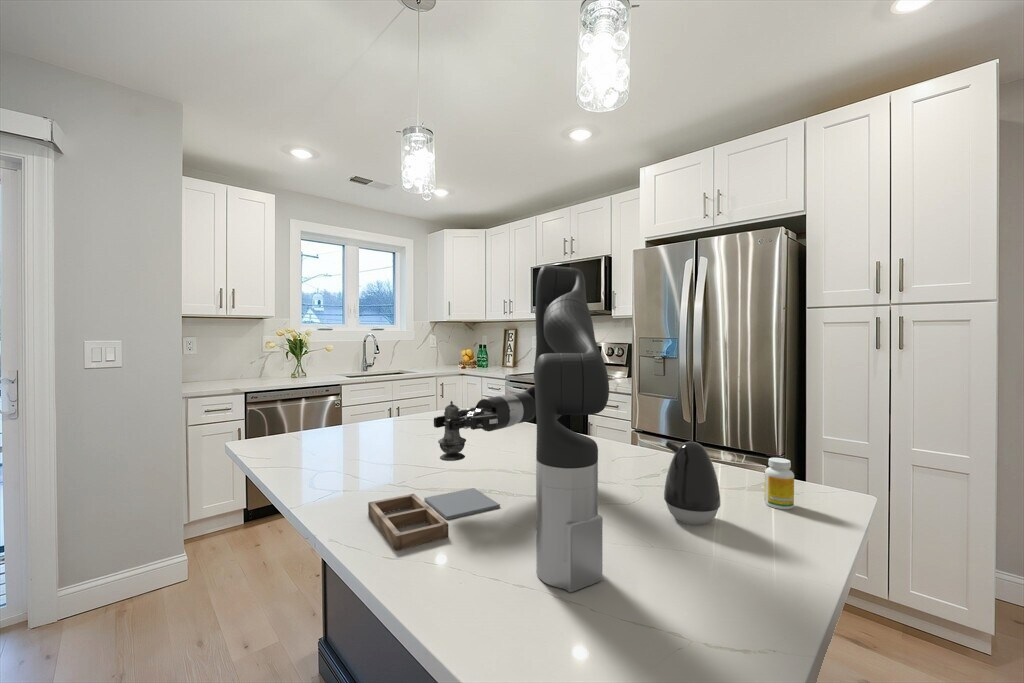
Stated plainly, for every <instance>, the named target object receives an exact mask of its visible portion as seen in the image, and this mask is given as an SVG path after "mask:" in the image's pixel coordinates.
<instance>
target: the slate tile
mask: <svg viewBox="0 0 1024 683" xmlns="http://www.w3.org/2000/svg"><path fill="white" fill-rule="evenodd" d="M424 500H425V501H426V502H425V501H424ZM423 501H424V502H425V503H426V504H427V505H428V506H429V507H430V508H432V507H433V508H432V509H433V510H434V511H435V512H436V513H437V514H438V515H439V516H440V515H441V516H442V518H443V519H444V520H445V521H446V520H450V519H451V518H452V519H456V518H460V517H464V516H469V515H473V514H477V513H480V512H486V511H490V510H494V509H498V508H501V504H500V503H498V502H497V501H495V500H494V499H492V498H490V497H489V496H487V495H486V494H484V493H482V492H481V491H480V490H477V489H476V488H475V487H472V488H467V489H462V490H456V491H452V492H447V493H442V494H435V495H432V496H427V497H424V498H423ZM452 519H451V520H452Z"/></svg>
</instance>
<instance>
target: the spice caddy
mask: <svg viewBox="0 0 1024 683" xmlns="http://www.w3.org/2000/svg"><path fill="white" fill-rule="evenodd" d="M367 503H368V504H367V506H368V508H367V510H368V514H367V515H368V516H369V515H370V516H369V517H370V518H371V520H372V519H373V520H372V521H373V523H374V524H375V523H376V524H375V525H376V526H377V528H378V527H379V528H378V529H379V530H380V531H381V533H382V534H383V536H384V537H385V538H386V540H387V541H388V542H389V544H390V545H391V546H392V548H393V549H394V550H395V551H399V550H404V549H407V548H411V547H415V546H420V545H423V544H427V543H431V542H435V541H439V540H443V539H446V538H449V523H448V522H447V521H446V519H445V518H443V517H441V516H440V514H439V513H438V512H437V511H435V510H434V509H433V508H432V507H431V506H430V505H429V504H427V503H426V502H425V501H424V500H422V499H421V498H420V497H419V496H418V495H416V494H415V493H411V494H405V495H400V496H395V497H389V498H385V499H379V500H378V499H377V500H375V501H369V502H367ZM405 508H406V509H410V508H411V509H410V510H405ZM398 509H401V510H405V511H402V512H401V511H400V512H397V513H392V514H387V515H385V513H384V512H386V513H390V512H389V511H391V512H394V511H393V510H396V511H399V510H398ZM425 522H426V523H427V526H423V527H419V528H414V529H409V530H406V531H405V530H404V531H401V532H400V531H399V530H398V529H399V528H403V527H408V526H413V525H416V524H422V523H425Z"/></svg>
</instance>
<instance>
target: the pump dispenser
mask: <svg viewBox="0 0 1024 683" xmlns="http://www.w3.org/2000/svg"><path fill="white" fill-rule="evenodd" d="M665 447H667V448H668V449H670V450H671V451H672V452H674V454H673V457H672V458H671V461H670V464H669V466H668V469H667V473H666V479H665V483H664V491H663V498H664V501H665V503H666V507H667V509H668V511H669V513H670V514H671V516H673V518H675V519H676V520H677V521H679V522H681V523H683V524H687V525H692V526H701V525H706V524H708V523H710V522H711V521H713V520H714V519H715V517H716V516H717V514H718V511H719V509H720V508H721V492H720V486H719V481H718V477H717V474H716V470H715V466H714V464H713V461H712V459H711V457H710V455H709V453H708V452H707V450H706V448H705V447H704V446H703V445H702V444H700V443H698V442H695V441H685V442H684V443H682V444H680V445H679V446H678V445H677V444H674V443H673V442H670V441H667V442H666V443H665Z"/></svg>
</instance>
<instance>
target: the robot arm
mask: <svg viewBox="0 0 1024 683" xmlns="http://www.w3.org/2000/svg"><path fill="white" fill-rule="evenodd" d="M536 280H537V281H536V288H535V343H536V345H535V356H534V357H535V358H534V366H533V379H534V380H533V381H534V385H532V386H529V387H528V388H527V389H525V390H523V391H522V392H520V393H516V394H510V395H509V394H501V395H497V396H490V397H485V398H481V399H480V400H479V401H478V402H477V404H476V405H475V406H469V407H467V408H462V409H461V408H459V407H458V409H459V417H458V418H453V419H448V420H447V430H449V431H451V430H456V429H459V430H461V429H464V430H467V429H470V430H473V431H474V430H480V429H481V430H482V431H483V432H484V431H485V432H493V431H497V430H501V429H505V428H509V427H510V428H511V427H512V426H513V427H514V426H515V425H518V424H521V423H525V422H529V421H531V420H532V419H534V418H535V417H536V446H535V447H536V453H535V454H536V456H535V462H536V463H535V464H536V465H535V466H536V467H535V468H536V470H535V472H536V474H535V477H536V478H535V480H536V482H535V490H536V491H535V494H536V495H535V499H536V500H535V506H536V507H535V512H536V513H535V514H536V516H535V519H536V520H535V522H536V524H535V526H536V527H535V529H536V532H535V533H536V534H535V536H536V537H535V539H536V540H535V547H536V549H535V550H536V560H535V561H536V565H535V566H536V576H537V577H538V578H539V579H540V581H542V582H543V583H545V584H547V585H549V586H552V587H555V588H559V589H563V590H566V591H567V592H569V593H573V592H575V591H578V590H581V589H583V588H587V587H589V586H592V585H594V584H596V583H599V582H602V581H603V516H602V515H600V514H599V507H598V506H599V505H598V502H599V498H598V497H599V493H598V492H599V488H598V483H599V482H598V481H599V469H598V468H599V464H598V463H599V447H598V443H597V442H596V441H595V440H594V439H592V438H591V437H589V436H587V435H583V434H581V433H578V432H575V431H573V430H571V429H569V428H567V427H566V426H565V425H564V424H561V422H559V420H558V419H560V417H561V416H567V415H568V416H581V415H582V416H589V415H596V414H598V413H599V414H600V413H601V412H603V411H604V409H605V408H606V406H607V404H608V402H609V397H610V382H609V381H610V380H609V375H608V371H607V366H606V364H605V361H604V358H603V355H602V353H601V351H600V348H599V346H598V344H597V340H596V336H595V330H594V324H593V319H592V316H591V312H590V309H589V305H588V300H587V292H586V279H585V276H584V273H583V272H582V270H581V269H579V268H576V267H569V266H554V265H543V266H541V267H540V269H539V272H538V275H537V278H536ZM443 422H445V411H444V413H443V415H439V416H435V417H433V427H434V428H435V429H436V428H437V429H439V428H443V427H444V428H445V424H443Z"/></svg>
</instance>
